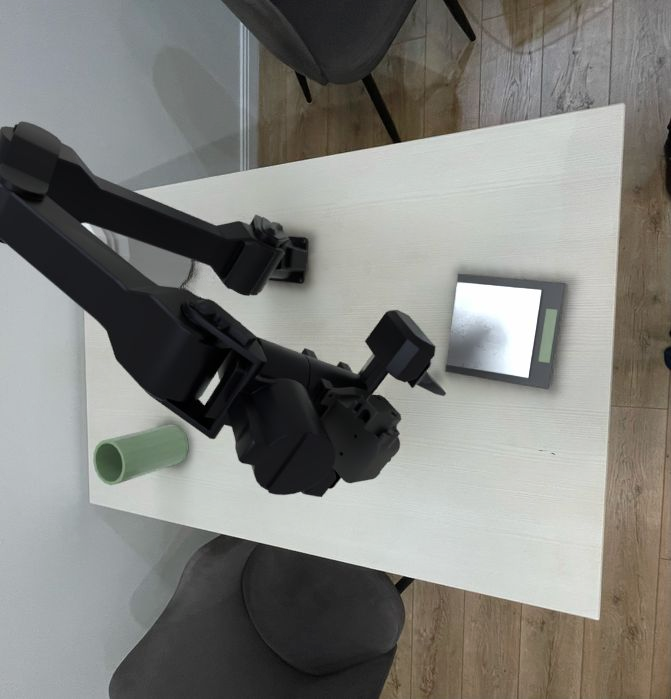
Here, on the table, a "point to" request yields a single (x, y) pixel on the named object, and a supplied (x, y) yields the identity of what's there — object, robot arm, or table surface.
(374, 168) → the table surface
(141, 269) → the jar
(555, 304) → the scale
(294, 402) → the robot arm
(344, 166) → the table surface
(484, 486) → the table surface
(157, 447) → the tumbler
